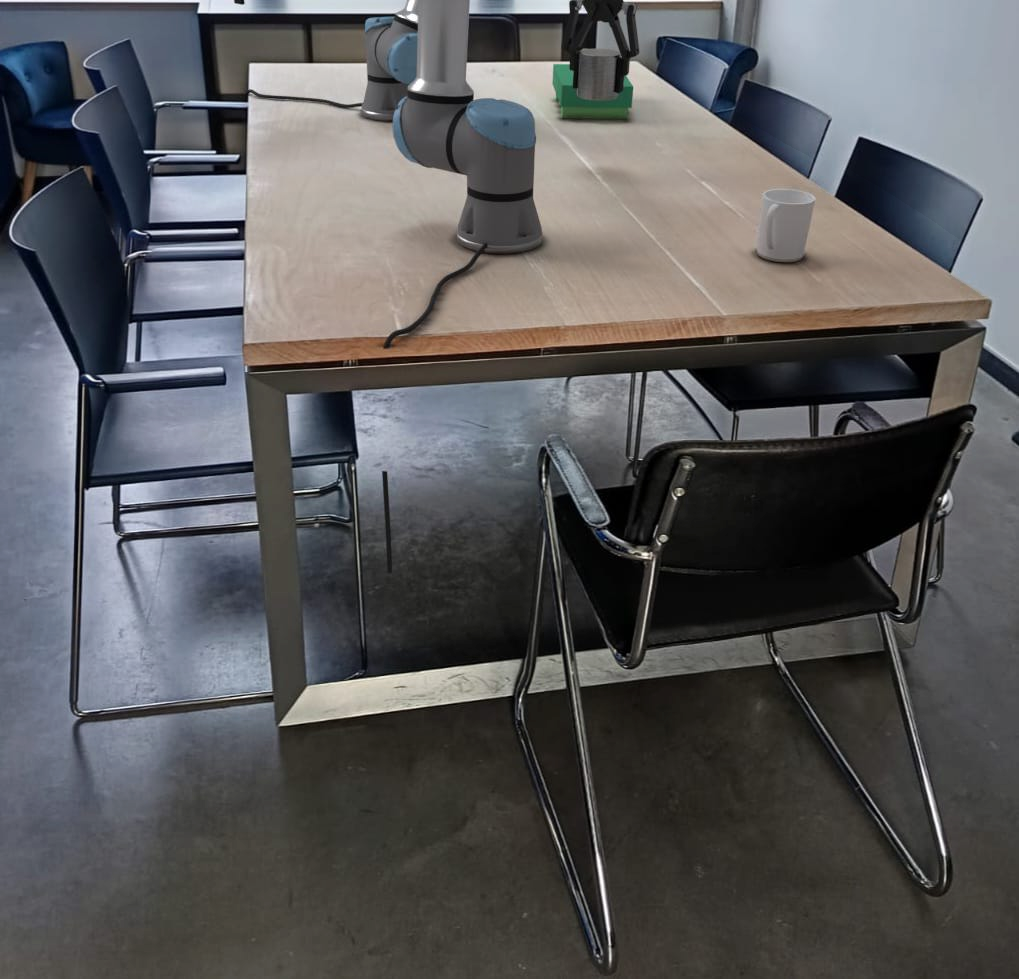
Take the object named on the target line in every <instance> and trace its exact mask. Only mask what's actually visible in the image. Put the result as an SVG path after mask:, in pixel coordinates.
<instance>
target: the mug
mask: <svg viewBox="0 0 1019 979" xmlns="http://www.w3.org/2000/svg"><path fill="white" fill-rule="evenodd" d="M815 202H816V197H815V195H813V194H812V193H809V192H807V191H804V190H799V189H794V188H793V189H792V188H773V189H768V190H764V191H763V192H762V194H761V203H760V213H759V224H758V226H759V227H758V237H757V244H756V245H757V246H756V253H757V255H758V256H759V257H761V259H765V260H768V261H771V262H776V263H794V262H798V261H800V260H802V259H803V258H804V253H805V249H806V245H807V240H808V235H809V232H810V228H811V227H810V226H811V223H812V222H811V221H812V217H813V212H814V208H815Z"/></svg>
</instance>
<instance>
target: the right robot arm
mask: <svg viewBox="0 0 1019 979" xmlns="http://www.w3.org/2000/svg"><path fill="white" fill-rule="evenodd" d="M470 3H471V0H419V12H418V46H417V77H416V79H415V80H414V81H413V82H412V83H411V84H410V85H409V86H408V91H407V96H406V97H404V98H403V99H402V100H401V101H400V102H399V104H398V105H397V106H398V109H397V110H395V112H394V116H393V121H392V135H393V139H394V142H395V145H396V147H397V148H398V151H399V152H400V153H401V154H402V156H403V157H404V158H405V159H406V160H408V161H409V162H411V163H414V164H416V165H417V164H418V165H420V166H422V167H424V168H427V169H432V168H433V169H437V170H440V171H446V172H449V173H454V174H459V175H463V176H466V192H467V193H466V198H465V202H464V205H463V209H462V211H461V214H460V218H459V220H458V224H457V228H456V241H457V243H458V244H459V245H461V246H462V247H464V248H466V249H468V250H470V251H475V252H476V253H475V254H473V257H472V258H471V259H470V261H469V262H468V263H467V264H465V266H463V267H461V268H459V269H457V270H455V271H452V272H450V273H448V274H447V275H446V276H444V277H443V278H442V279H440V280H439V282H438V283H437V285H436V286H435V288H434V291H433V293H432V294H431V296H430V298H429V299H430V300H429V303H428V306H427V308H426V309H425V311H424V312H423V313H422V314H421V316H419V318H417V319H416V320H415V321H414V322H413V323H411V324H410V325H409V326H407V327H404V328H400V329H397V330H394V331H393V332H391V333H390V334H389V335H388V337H387V338H386V339H385V342H384V344H383V346H382V349H384V350H387V349H389V348H390V346H391V343H392V341H393V340H395V338H396V337H398V336H402V335H406V334H409V333H411V332H413V331H414V330H415V329H416V328H418V327H419V326H420V325H421V324H423V323H424V321H425V320H426V319H427V318H428V317H429V315H430V314H431V312H432V311H433V309H434V307H435V304H436V300H437V298H438V296H439V293H440V291H441V289H442V287H443V286H444V285H445V284H446V283H447V282H448V281H450V280H451V279H453V278H455V277H458V276H460V275H461V274H464V273H466V272H467V271H468V270H470V269H471V268H472V267H473V266H474V265H475V263H476V262H477V260H478V259H479V257H480V256H481V255H482V254H483V253H486V254H497V255H499V254H500V255H506V254H507V255H508V254H517V253H524V252H527V251H530V250H533V249H536V248H538V247H539V246H540V245H541V244H542V243H543V229H542V224H541V221H540V220H541V219H540V218H539V214H538V213H539V212H538V210H537V206H536V204H535V199H534V184H535V181H534V180H535V158H536V156H535V155H536V143H537V135H536V121H535V117H534V114H533V113H532V111H531V110H530V109H528V108H527V107H525V106H524V105H522V104H520V103H518V102H514V101H511V100H507V99H502V98H501V99H496V98H493V97H484V98H476V99H474V97H475V96H474V95H475V90H474V89H473V88H472V87H471V86H470V85H469V83H468V81H467V65H468V64H467V63H468V44H469V23H470ZM582 7H583V9H584V10H585V11H586V15H585V18H584V19H583V23H582V24H581V27H580V28H579V31H578V33H577V35H576V36H575V39H574V40H573V38H574V35H575V30H576V26H577V23H578V18H579V14H580V11H581V10H582ZM637 8H638V4H637V3H636V2H635V3H630V2H628V3H627V2H625V1H624V0H570V1H569V2H568V9H569V14H568V17H567V18H568V19H567V22H566V26H565V31H564V34H563V40H562V43H561V46H560V47H561V50H562V51H563V52H567V53H568V55H569V64H570V65H569V68H570V70H571V71H573V88H575V89H576V88H577V82H578V63H579V51H580V49H581V47H582V45H583V44H584V41H585V40H586V37H587V35H588V33H589V31H590V30H591V28H592V25H593V24H594V23H596V22H597V23H598V22H601V23H608V25H609V27H610V28H611V32H612V34H613V37H614V39H615V43H616V45H617V48H618V51H619V52H620V54H621V58H620V59H618V68H617V83H616V93H620V92H622V91H623V85H624V76H628V75H629V73H630V62H631V59H632V58H635V57H637V56H639V55H640V46H639V37H638V36H639V35H638V29H637V27H638V26H637V18H636V14H637ZM622 10H623V14H624V15H625V21H626V29H627V37H628V42H627V39H626V37H625V36H626V35H625V33H624V30H623V27H622V26H621V20H620V17H619V13H620V12H621V11H622ZM572 42H573V43H572ZM381 471H382V472H381V476H382V477H381V478H382V492H383V510H384V526H385V529H384V530H385V545H386V571H387V573H388V574H392V573H393V555H392V554H393V552H392V533H391V532H392V531H391V515H390V514H391V513H390V498H389V497H390V495H389V478H388V477H389V476H388V475H389V474H388V470H381Z"/></svg>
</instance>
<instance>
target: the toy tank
mask: <svg viewBox="0 0 1019 979" xmlns="http://www.w3.org/2000/svg"><path fill="white" fill-rule="evenodd" d="M584 49H585V48H582V50H584ZM552 65H553V66H552V86H553V89H554V92H555V100H556V101H558V105H559V106H560V114H561V115H560V116H561V118H562V119H611V120H613V119H615V120H616V119H620V120H621V119H622V120H627V119H628V114H629V109H632V108H633V96H634V95H633V94H634V85H633V84H632V83H631V80H630V79H629V78H628V77H627V76H628V75H627V76H624V85H623V91H622V92H620V93H619V96H618V98H616V99H613V100H588V99H583V98H580V97H578V96H577V88H576V89H575V88H573V71H571V70H570V68H569V65H570V63H560V64H559V63H553V64H552Z"/></svg>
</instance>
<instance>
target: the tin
mask: <svg viewBox="0 0 1019 979" xmlns="http://www.w3.org/2000/svg"><path fill="white" fill-rule="evenodd" d="M583 49H584V50H583ZM583 49H581V50H579V52H578V53H579V63H578V82H577V96H578V97H580V98H583V99H588V100H613V99H616V98H618V96H619V93H616V83H617V68H618V59H620V58H622V56H621V54H620V51H619V50H615V49H610V48H583Z"/></svg>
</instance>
